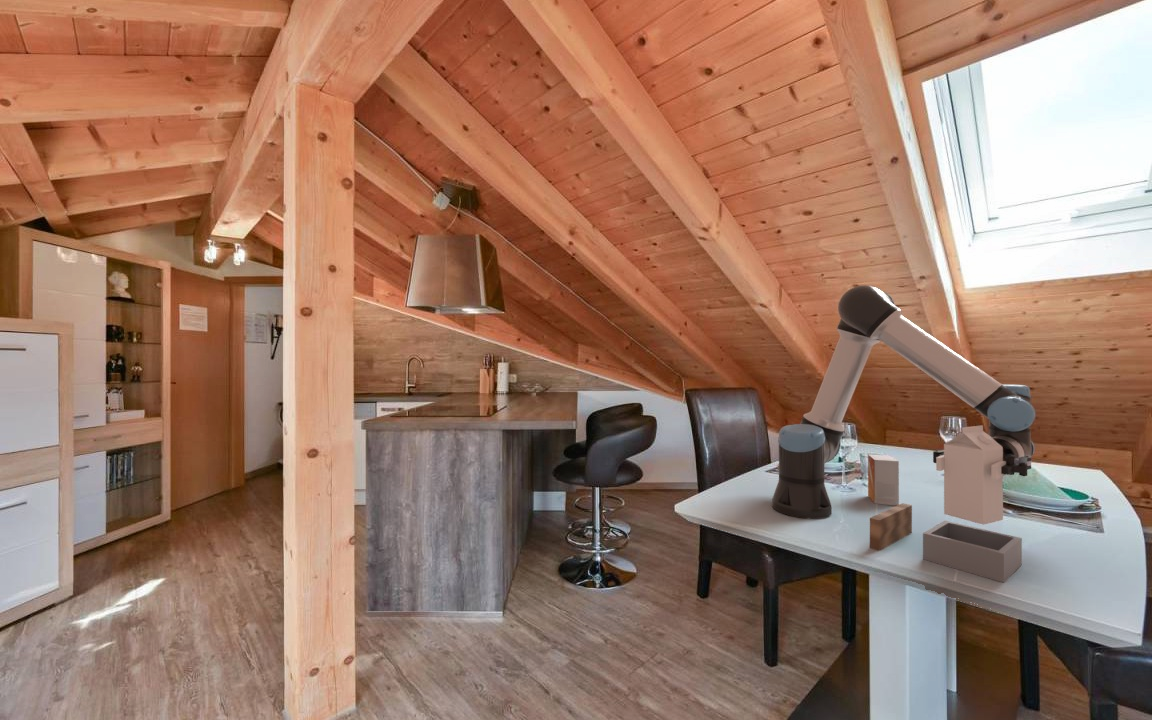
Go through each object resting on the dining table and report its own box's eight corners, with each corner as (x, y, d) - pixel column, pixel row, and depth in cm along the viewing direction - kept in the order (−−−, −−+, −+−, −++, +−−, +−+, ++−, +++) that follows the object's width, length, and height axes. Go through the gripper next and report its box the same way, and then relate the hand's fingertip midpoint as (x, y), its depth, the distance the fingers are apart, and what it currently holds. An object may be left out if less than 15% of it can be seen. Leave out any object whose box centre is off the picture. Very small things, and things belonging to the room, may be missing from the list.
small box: (867, 496, 147) (867, 454, 147) (891, 498, 145) (891, 455, 145) (874, 503, 139) (874, 459, 139) (899, 506, 137) (899, 461, 137)
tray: (1003, 582, 90) (1003, 553, 90) (922, 559, 100) (923, 533, 100) (1021, 564, 98) (1021, 538, 98) (944, 544, 108) (944, 520, 108)
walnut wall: (879, 551, 105) (879, 520, 105) (869, 548, 107) (869, 517, 107) (911, 533, 115) (911, 505, 115) (902, 531, 117) (902, 503, 117)
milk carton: (943, 514, 101) (943, 425, 101) (963, 510, 103) (963, 423, 103) (983, 525, 94) (983, 430, 94) (1003, 520, 97) (1003, 427, 97)
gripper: (1062, 479, 101) (1036, 498, 88) (942, 462, 118) (905, 476, 105) (1062, 444, 101) (1036, 458, 87) (942, 432, 118) (905, 442, 105)
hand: (965, 468), depth 96 cm, fingers closed on milk carton, 8 cm apart
